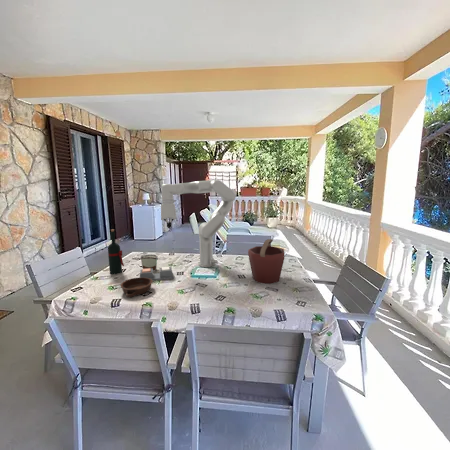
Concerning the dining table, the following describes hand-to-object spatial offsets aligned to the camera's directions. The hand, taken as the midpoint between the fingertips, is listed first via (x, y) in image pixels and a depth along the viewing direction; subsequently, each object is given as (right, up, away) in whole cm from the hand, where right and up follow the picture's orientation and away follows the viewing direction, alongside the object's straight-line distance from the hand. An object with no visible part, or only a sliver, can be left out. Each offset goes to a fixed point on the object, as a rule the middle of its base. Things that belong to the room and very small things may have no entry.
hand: (169, 227), depth 182 cm
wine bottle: (-35, -31, -4) cm, 46 cm away
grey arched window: (-13, -30, +2) cm, 32 cm away
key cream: (+1, -29, -13) cm, 32 cm away
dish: (-11, -36, -34) cm, 51 cm away
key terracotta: (-11, -30, -16) cm, 35 cm away
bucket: (+66, -32, -18) cm, 76 cm away
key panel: (-5, -32, -14) cm, 35 cm away
